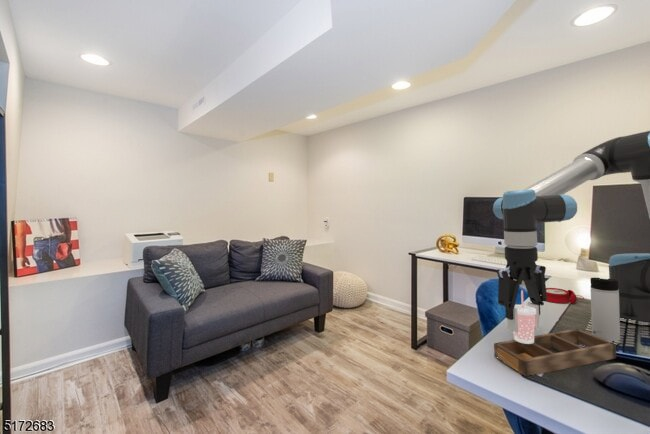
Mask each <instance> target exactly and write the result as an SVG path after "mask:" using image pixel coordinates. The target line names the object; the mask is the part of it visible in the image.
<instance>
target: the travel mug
mask: <svg viewBox="0 0 650 434" xmlns="http://www.w3.org/2000/svg"><path fill="white" fill-rule="evenodd" d="M618 286H619V285H618V280H615V279H609V278H601V277H590V313H591V318H590V319H591V335H594V336H597V337H599V338H602V339H604V340H607V341H618V340H619V339H620V340H621V322H620V313H619V292H618V291H619V287H618Z"/></svg>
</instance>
